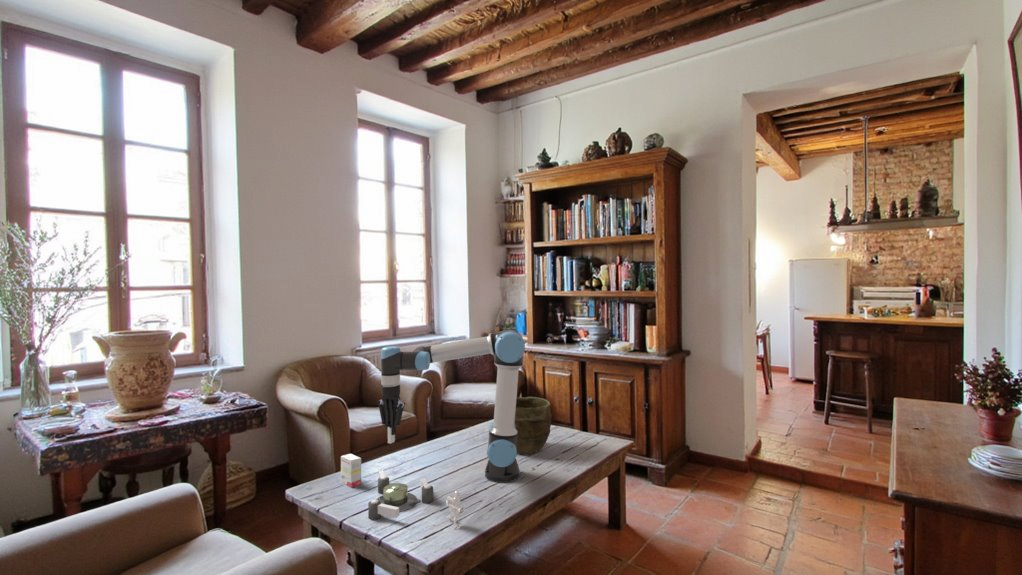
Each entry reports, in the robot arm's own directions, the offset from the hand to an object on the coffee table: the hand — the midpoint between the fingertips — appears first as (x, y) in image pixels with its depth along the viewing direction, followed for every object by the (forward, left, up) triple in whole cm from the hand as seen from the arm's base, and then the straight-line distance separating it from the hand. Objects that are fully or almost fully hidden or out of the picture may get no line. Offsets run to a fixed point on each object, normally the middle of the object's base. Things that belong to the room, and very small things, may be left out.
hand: (391, 442), depth 196 cm
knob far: (+3, +2, -19) cm, 19 cm away
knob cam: (-14, +22, -19) cm, 32 cm away
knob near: (-18, +2, -19) cm, 26 cm away
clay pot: (-34, -64, -20) cm, 75 cm away
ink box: (+18, +3, -20) cm, 27 cm away
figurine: (-39, +15, -20) cm, 46 cm away
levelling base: (-10, +13, -19) cm, 25 cm away
